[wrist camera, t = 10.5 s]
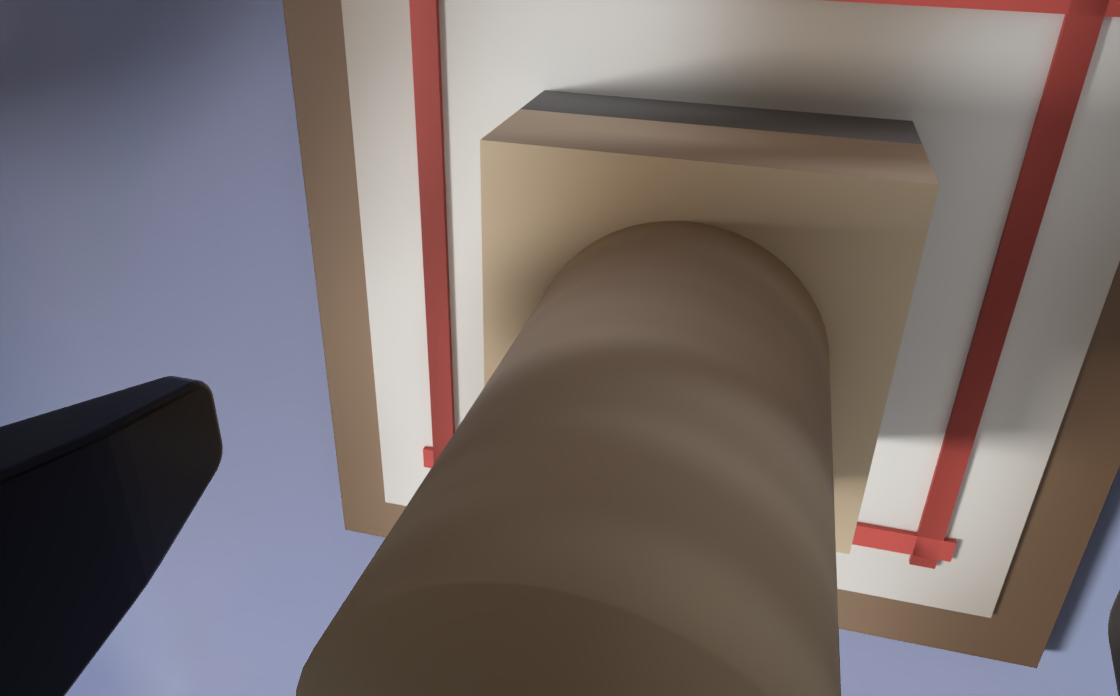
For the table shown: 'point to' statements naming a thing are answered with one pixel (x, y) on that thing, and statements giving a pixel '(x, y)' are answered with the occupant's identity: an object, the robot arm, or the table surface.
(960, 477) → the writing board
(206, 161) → the table surface
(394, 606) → the stamp
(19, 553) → the robot arm
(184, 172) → the table surface
